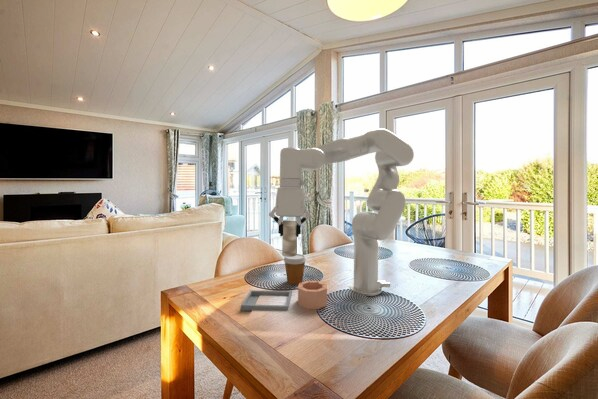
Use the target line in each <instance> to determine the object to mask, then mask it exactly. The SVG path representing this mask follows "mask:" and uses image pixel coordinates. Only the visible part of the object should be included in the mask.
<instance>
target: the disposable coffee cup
mask: <svg viewBox="0 0 598 399" xmlns="http://www.w3.org/2000/svg"><path fill="white" fill-rule="evenodd" d="M283 261H284V265H285V266H284V267H285V274H286V275H285V276H286V282H287V284H289V285H293V286H294V285H299V283H302V282H304V273H305V264H306V261H307V258H306V256H305V255H304V254H301V253H296V256H293V257H286V256H284V258H283Z"/></svg>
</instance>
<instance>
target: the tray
mask: <svg viewBox="0 0 598 399" xmlns="http://www.w3.org/2000/svg"><path fill="white" fill-rule="evenodd" d="M263 295H264V296H266V295H267V296H268V295H269V296H288V297H287V301H286V304H285V305H281V304H257V302H258V300H259V298H260V296H263ZM292 296H293V291H292V290H291V291H290V290H288V291H287V290H286V291H285V290H256V289H254V290H253V289H252V290H249V292H248V293H247V296H246V297H245V298H244V300H243V301H242V303H241V304H240V305H241V306H240V307H241V308H240V309H241V310H240V311H241V312H244V313H251V312H253V310H268V311H270V310H273V311H274V310H275V311H289V308H290V304H291V301H292V300H291V299H292Z"/></svg>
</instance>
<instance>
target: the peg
mask: <svg viewBox="0 0 598 399" xmlns="http://www.w3.org/2000/svg"><path fill="white" fill-rule="evenodd" d="M282 222H283V236H282V241H281V242H282V243H281V244H282V245H281V246H282V248H281V251H282V252H281V255H282V256H283V257H285V256H286V257H293V256H296V254H297V243H298V242H297V241H298V240H297V238H298V237H297V236H296V226H297V223H298V222H297V220H296V219H295V220H294V219H286V220H284V219H283V221H282Z"/></svg>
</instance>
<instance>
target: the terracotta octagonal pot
mask: <svg viewBox="0 0 598 399" xmlns="http://www.w3.org/2000/svg"><path fill="white" fill-rule="evenodd" d="M327 286H328V285H327V283H325V282H322V281H320V280H305V281H303V282H302V283H299V284H298V286H297V306H300V307H301V308H303V309H307V310H310V309H311V310H320V309H322V308H324V307H327V306H328V287H327Z"/></svg>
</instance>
